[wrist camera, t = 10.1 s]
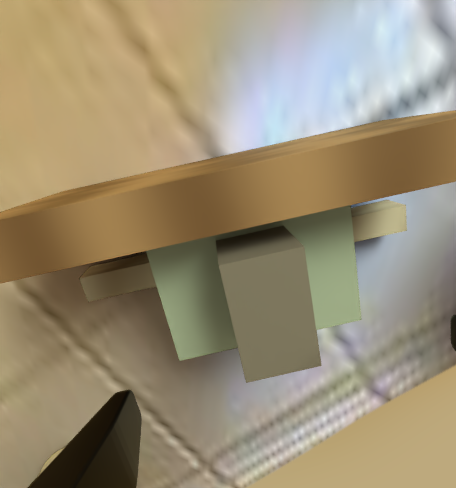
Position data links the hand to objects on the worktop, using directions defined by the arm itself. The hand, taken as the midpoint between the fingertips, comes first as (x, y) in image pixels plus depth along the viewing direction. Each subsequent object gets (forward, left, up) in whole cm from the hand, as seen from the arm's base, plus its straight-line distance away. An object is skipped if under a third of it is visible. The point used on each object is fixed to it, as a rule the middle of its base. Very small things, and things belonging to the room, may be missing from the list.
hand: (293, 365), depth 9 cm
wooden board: (0, -2, -13) cm, 13 cm away
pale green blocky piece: (0, 0, -13) cm, 13 cm away
